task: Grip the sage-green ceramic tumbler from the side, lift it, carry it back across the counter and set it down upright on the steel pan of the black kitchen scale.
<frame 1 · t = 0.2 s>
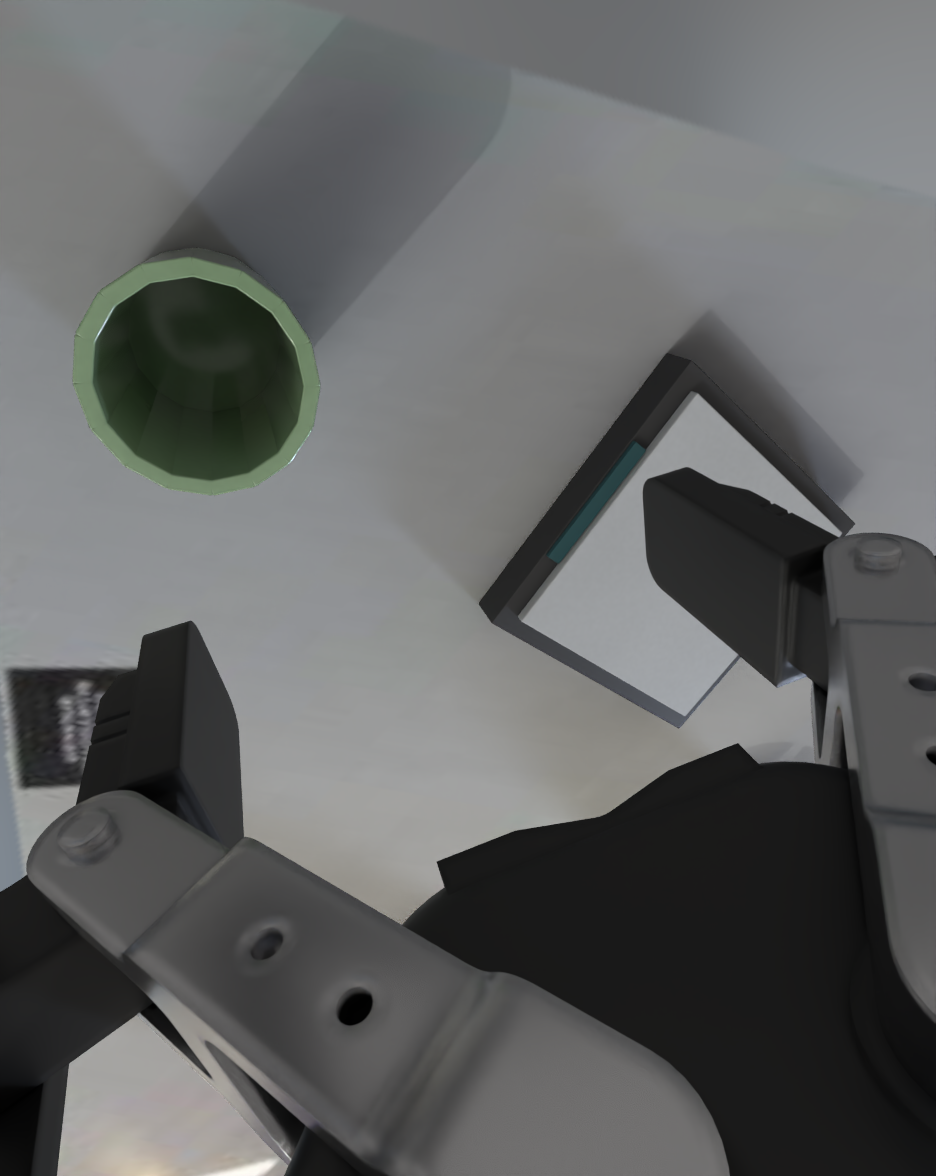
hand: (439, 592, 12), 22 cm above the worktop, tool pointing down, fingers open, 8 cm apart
scale: (663, 554, 41), on the worktop
tumbler: (206, 338, 29), on the worktop
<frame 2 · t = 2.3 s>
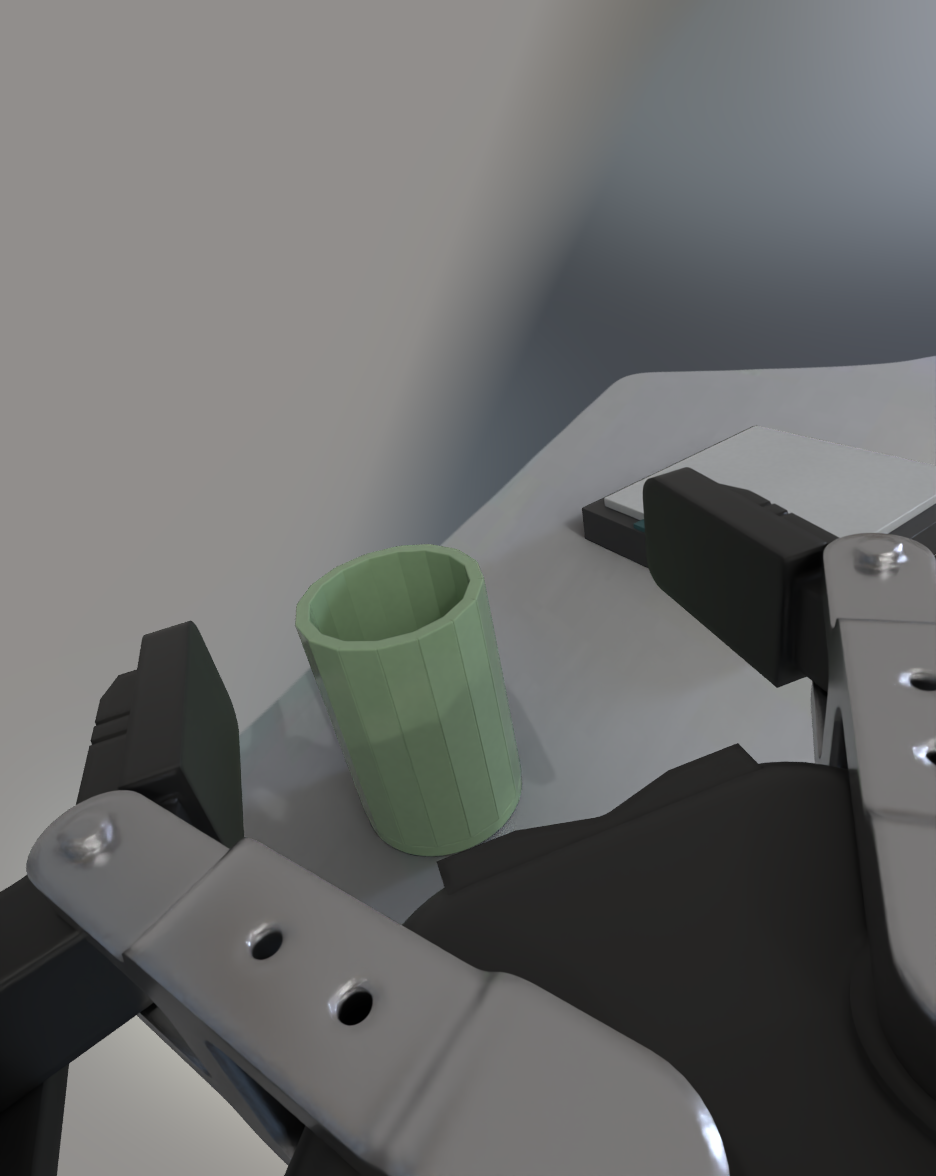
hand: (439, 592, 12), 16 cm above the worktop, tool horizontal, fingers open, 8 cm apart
scale: (773, 528, 43), on the worktop
tumbler: (444, 790, 30), on the worktop
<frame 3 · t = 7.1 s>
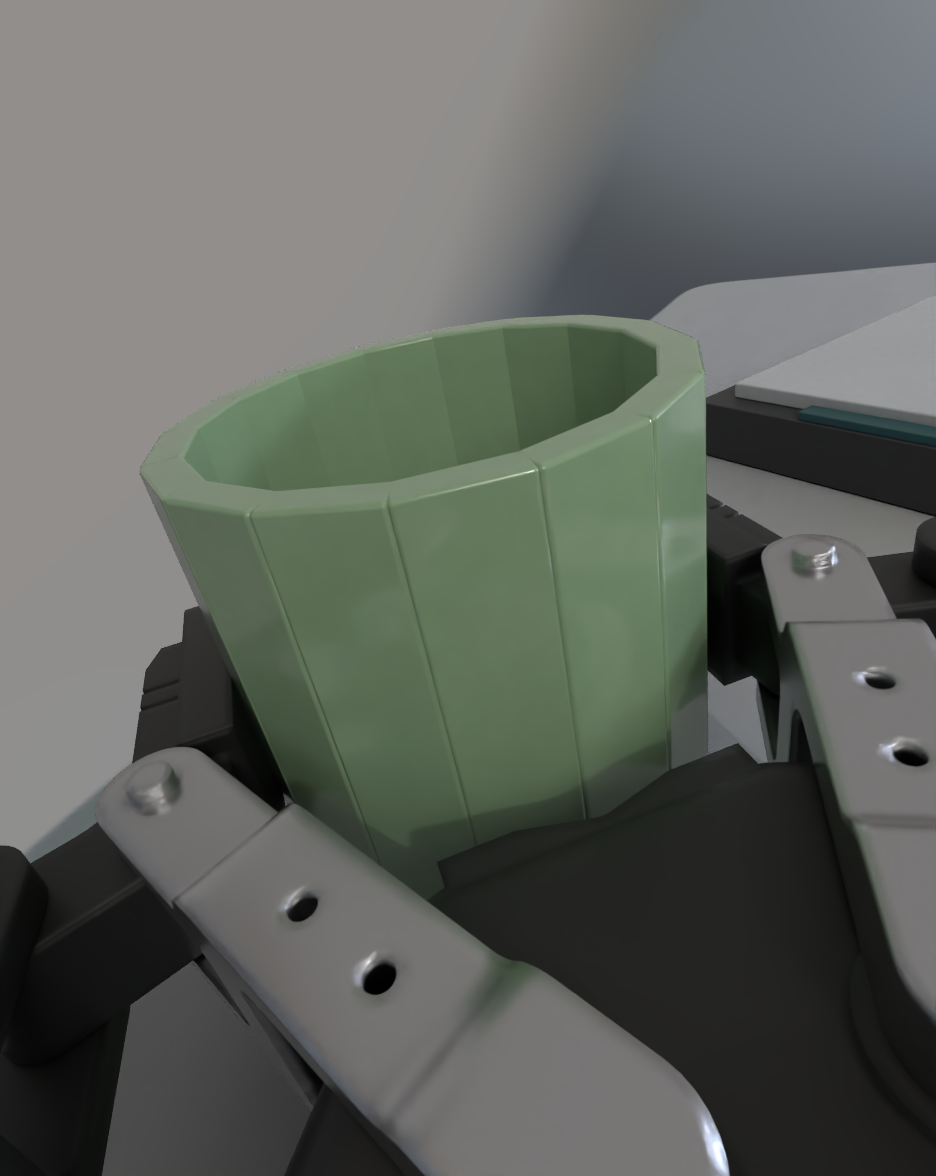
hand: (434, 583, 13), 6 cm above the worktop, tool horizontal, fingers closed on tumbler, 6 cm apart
tumbler: (528, 894, 14), on the worktop, touching gripper
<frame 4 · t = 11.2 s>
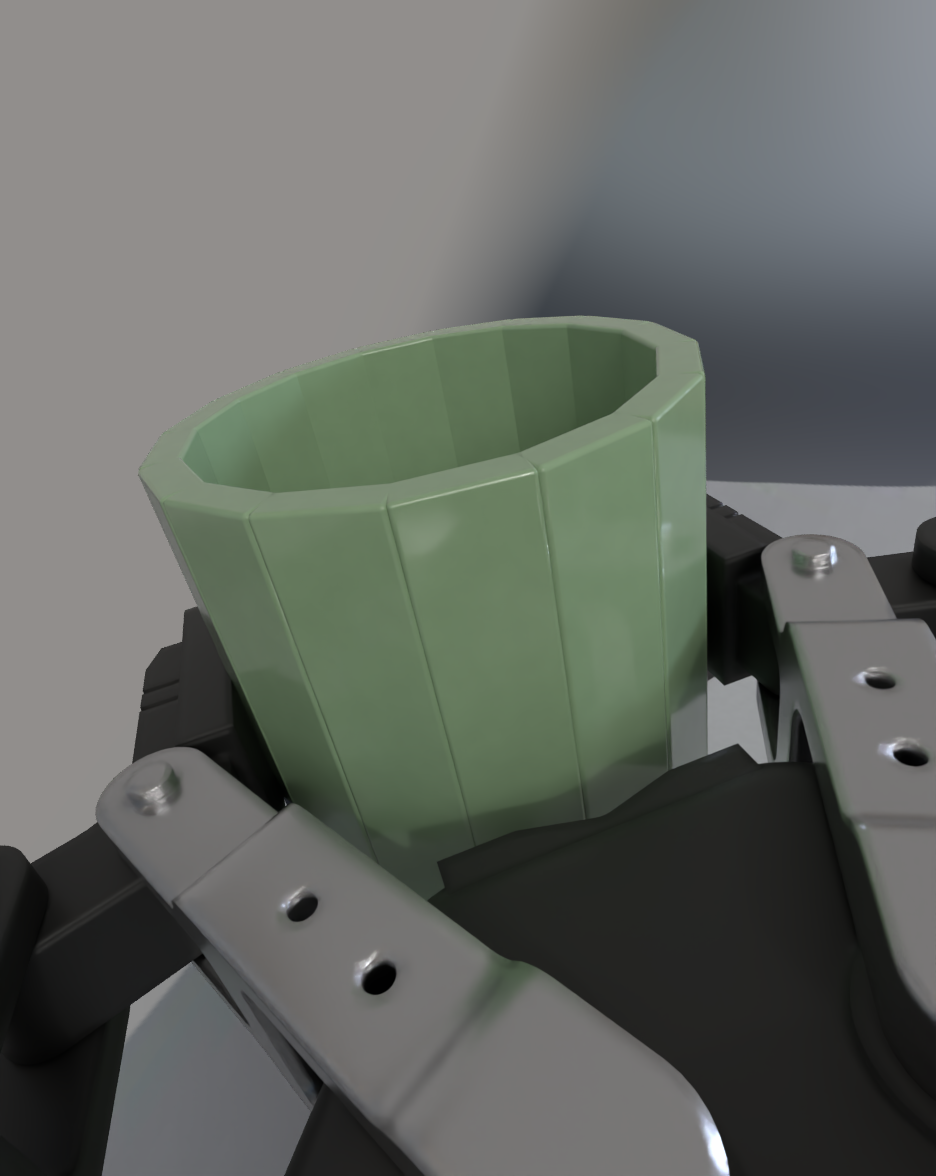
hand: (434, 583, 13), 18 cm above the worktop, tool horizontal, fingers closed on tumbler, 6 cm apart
scale: (821, 846, 27), on the worktop
tumbler: (527, 895, 14), point 12 cm above the worktop, touching gripper
when the fingers open (9 cm above the worktop, at t = 15.7 s): tumbler stays where it is, resting on scale.
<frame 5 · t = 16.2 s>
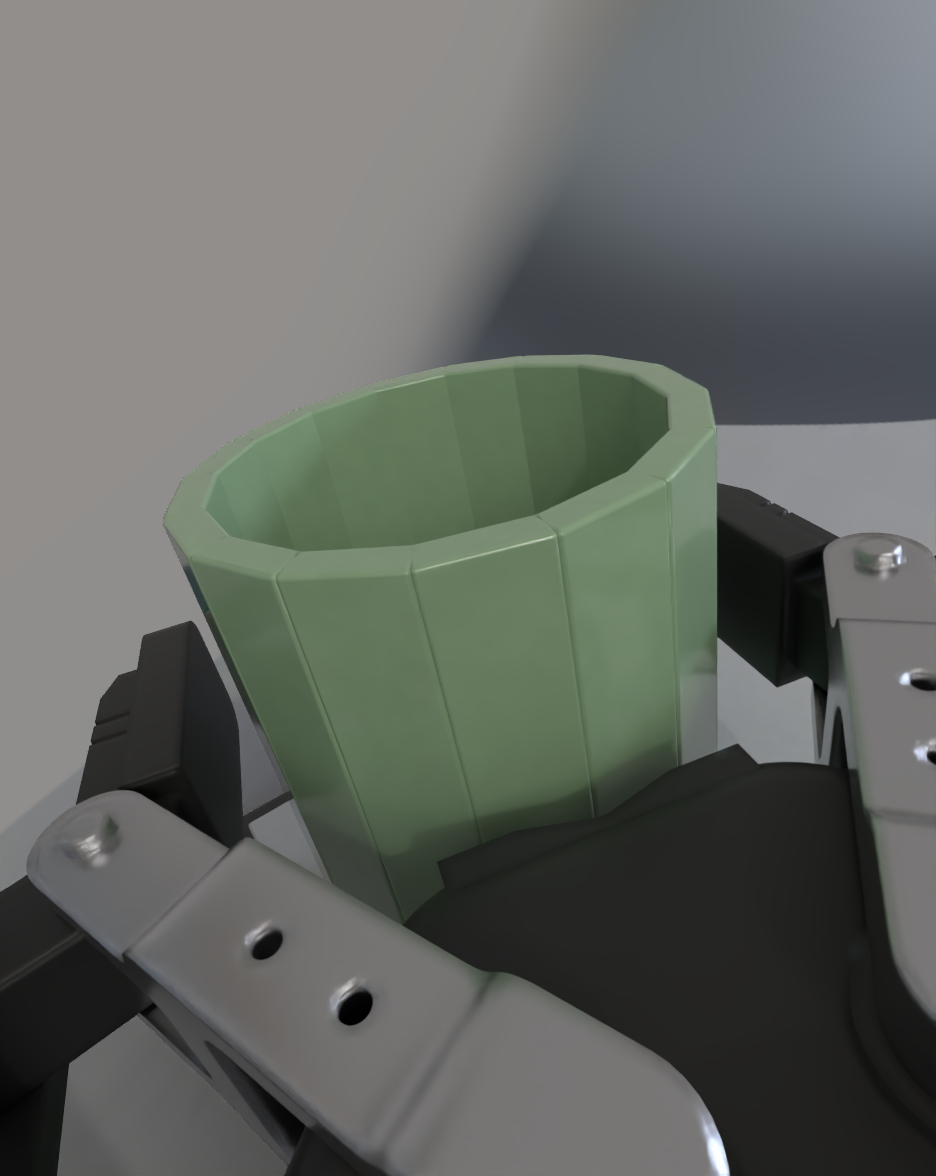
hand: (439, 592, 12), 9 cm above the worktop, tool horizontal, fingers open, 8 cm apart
scale: (667, 926, 16), on the worktop
tumbler: (538, 917, 14), point 3 cm above the worktop, touching scale
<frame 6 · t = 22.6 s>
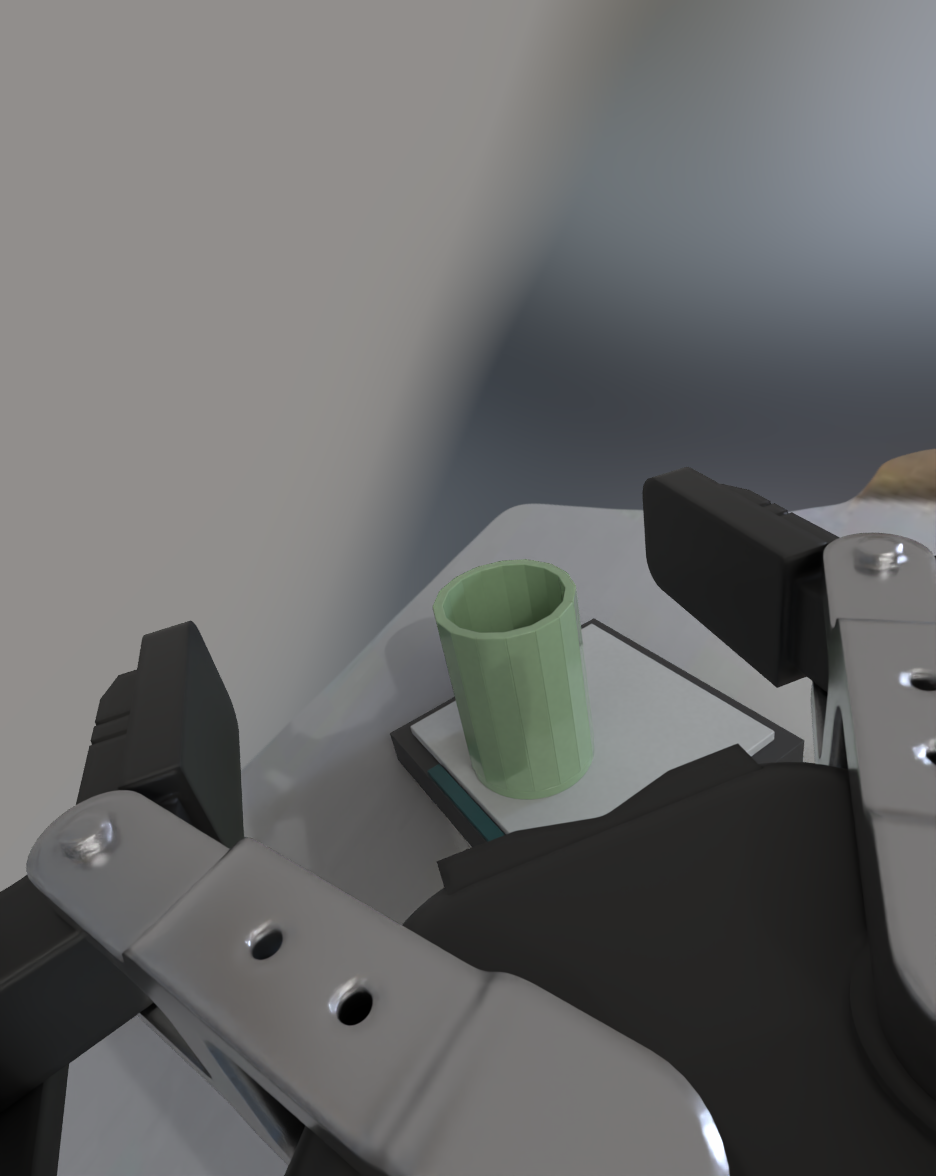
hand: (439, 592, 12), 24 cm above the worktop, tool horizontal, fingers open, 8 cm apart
scale: (584, 764, 40), on the worktop
tumbler: (532, 751, 38), point 3 cm above the worktop, touching scale
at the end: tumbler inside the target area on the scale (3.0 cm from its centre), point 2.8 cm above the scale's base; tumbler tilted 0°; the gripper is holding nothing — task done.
